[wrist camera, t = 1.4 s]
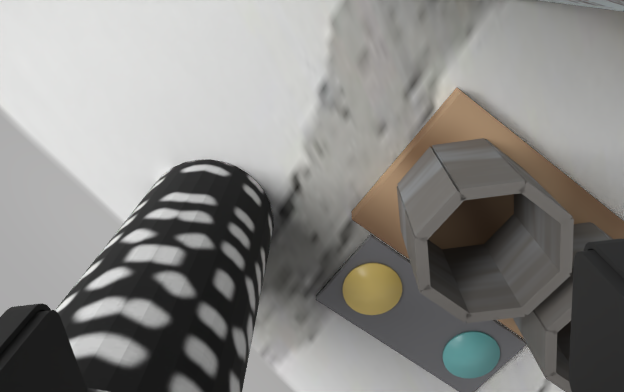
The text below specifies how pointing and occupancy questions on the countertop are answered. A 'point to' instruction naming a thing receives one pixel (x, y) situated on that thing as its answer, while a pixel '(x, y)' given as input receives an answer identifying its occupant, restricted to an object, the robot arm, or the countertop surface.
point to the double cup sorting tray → (489, 227)
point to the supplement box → (594, 3)
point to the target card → (415, 319)
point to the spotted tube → (175, 287)
